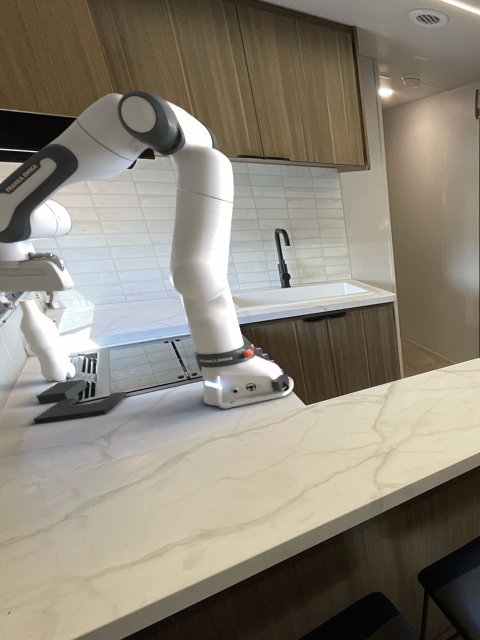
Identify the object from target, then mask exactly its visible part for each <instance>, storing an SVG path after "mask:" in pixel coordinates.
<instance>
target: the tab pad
mask: <svg viewBox="0 0 480 640" xmlns="http://www.w3.org/2000/svg"><path fill="white" fill-rule="evenodd" d="M87 387H88V385H87V382H86V380H85V379H77V380H76V379H75V380H69V381H68V380H67V381H57V383H55V384H53V385H52V386H50V387H49V388H47V389H45V390H43V391H42V392H40V393H39V394H38V395H37V394H36V398H37V400H38V403H39V405H43V404H49V403H58V402H59V401H61V400H63V399H71V398H75V396H76V395H78V394H79V393H80V392H82V391H84V390H85V389H87Z"/></svg>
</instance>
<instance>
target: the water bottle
mask: <svg viewBox="0 0 480 640" xmlns="http://www.w3.org/2000/svg"><path fill="white" fill-rule="evenodd" d="M18 304H19V307H20V308H19V309H20V310H21V311H22V317H21V320H20V324H19V326H20V327H19V328H20V331H21V332H22V334H23V336H24V339H25V340H26V343H27V344H28V348H29V350H30V351H31V352H32V354H34V355H35V356H36V358H37V360H38V361H39V365H40V373H41V375H42V376H43V378H44V379H46V381H48V382H54V381H56V382H64V381H65V380H66V379H67V378H69V379H72V378H74V377H75V375H76V368H75V365H74V364H73V363H72V362H71V361H70V360H69V359H68V356H67V355H66V352H65V342H64V340H62V338H61V335H60V333H59V331H58V329H57V326H56V324H55V322H54V321H53V320H52V319H50V318H49V317H48V316H47V315H45V314H44V313H43V312H41V310H40V309H39V306H38V305H37V304H36V302H35V299H33V298H26V299H20V300H19V299H18Z"/></svg>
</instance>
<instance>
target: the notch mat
mask: <svg viewBox="0 0 480 640" xmlns="http://www.w3.org/2000/svg"><path fill="white" fill-rule="evenodd" d="M125 397H127V392H126V391H119V392H112V393H110V394H108V396H107V397H105V398H104V399H103V400H102V401H99V402H92V403H84V404H77V403H78V402H79V401H78V398H77V397H72V398H71V399H63V400H61V401H59V402H55V404H53V405H51V406H50V407H49V408H48V409H46V410H44V412H41V413H40V414H39V415H38V416H36V417H35V418H34V419H33V422H34V423H35V424H42V423H49V422H56V421H64V420H71V419H78V418H85V417H92V416H100V415H106V414H107V413H109V412H110V411H111V410H112V409H113V408H114V407H115V406H116V405H118V404H119V403H120V402H121V401H122V400H123V399H125ZM76 404H77V405H76Z"/></svg>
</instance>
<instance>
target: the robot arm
mask: <svg viewBox="0 0 480 640" xmlns="http://www.w3.org/2000/svg"><path fill="white" fill-rule="evenodd" d="M148 148H149V149H151V150H153V151H154V152H156V153H158V154H160V155H161V156H163V157H170V158H171V159H172V160H173V162H174V163H175V165H176V168H177V182H176V183H177V184H176V199H175V214H174V226H173V233H172V234H173V235H172V242H171V243H172V244H171V252H170V263H169V264H170V265H169V275H168V276H169V281H170V283H171V286H172V287H173V289H174V290H175V291H176V292H177V293H178V295H179V294H180V298H181V303H182V307H183V311H184V316H185V320H186V325H187V328H188V330H189V331H188V332H189V335H190V338H191V341H192V344H193V347H194V349H195V350H194V357H195V362H196V365H197V368H198V369H199V372H201V377H202V382H203V394H204V395H203V402H204V403H205V404H207V405H209V406H214V407H219V408H221V409H223V410H225V409H226V410H227V409H230V408H234V407H235V408H236V407H240V406H245V405H249V404H255V403H259V402H264V401H268V400H274V399H278V398H279V399H280V398H282V397H285V396H287V395H289V394H290V393H291V392H292V391H293V389H294V380H293V378H292V377H290V376H288V374H283V372H282V370H281V368H280V366H278V364H276V363H275V362H272V361H269V360H267V359H265V358H262V357H260V356H258V355H256V352H255V347H254V344H253V343H252V344H251V345H250V344H247V343H245V342H244V339H243V335H242V332H241V328H240V323H239V320H238V316H237V312H236V308H235V305H234V299H233V296H232V292H231V288H230V285H229V281H228V277H227V276H228V266H229V265H228V264H229V254H230V243H231V242H230V240H231V230H232V219H233V208H234V197H235V195H234V193H235V191H234V190H235V187H234V183H235V182H234V173H233V166H232V163H231V160H229V158H228V157H227V156H226V155H225V154H223V152H221V151H220V150H219V144H218V140H217V138H216V136H215V134H214V133H213V131H212V130H211V129H210V128H209V127H208V126H207V125H206V124H205V123H204V122H203V121H201V120H199V119H197V118H195V117H194V116H192V115H191V114H190V113H188V112H187V111H186V110H184V109H183V108H181V107H180V106H178V105H176V104H175V103H172V102H170V101H167V100H166V99H164V98H163V97H161V96H159V95H157V94H155V93H154V94H153V93H151V92H147V91H142V90H131V91H128V92H126V93H124V94H121V93H115V92H113V93H112V92H111V93H107V94H106V95H104V96H102V97H101V98H99V99H98V100H96V101H95V102H93V103H92V104H91V105H89V106H88V107H87V108H85V109H84V111H83V112H82V113H80V114H79V116H78V117H77V118H76V119H75V120H74V121H73V122H72V123H71V124H70V125H69V126H68V127H67V128H66V129H65V130H64V131H63V132H62V133H61V134H59V136H58V137H56V138H54V140H52V141H51V142H50V143H48V144H47V145H45V146H44V147H42V148H41V149H40V150H38V151H36V152H35V153H34V154H33V155H31V156H30V157H29V158H28V159H26V160H25V161H24V162H23V163H22V164H21V165H20V166H18V167H17V168H16V169H15V170H14V171H13V172H11V174H8V176H7V177H6V178H5V179H4V180H0V307H1V309H2V310H4V311H12V310H16V309H17V306H16V305H15V302H14V301H10V300H9V299H8V298H7V297H6V293H22V292H23V293H25V292H27V293H28V292H29V293H31V292H34V293H35V292H45V294H46V296H47V297H48V296H49V298H48V301H46V302H44V303H45V306H46V308H47V309H48V310H56V309H60V307H61V306H60V304H59V302H58V301H59V300H60V296H61V292H66V291H71V290H73V289H74V287H75V283H74V280H73V278H72V277H71V275H70V273H69V271H68V269H67V267H66V266H65V263H64V260H63V259H62V258H61V257H60V256H58V255H56V254H54V253H52V252H36V250H35V248H34V245H33V243H32V241H36V240H48V239H56V238H61V237H65V236H67V235H69V233H70V232H71V230H72V228H73V220H72V216H71V215H70V212H69V211H68V210H67V209H66V208H65V206H63V204H61V203H59V202H58V201H56V200H55V199H52V197H53V196H54V195H55V194H56V193H57V192H59V191H60V190H61V189H63V188H65V187H67V186H70V185H72V184H76V183H80V182H81V183H82V182H86V181H95V180H104V179H105V180H106V179H111V178H114V177H117V176H118V175H120V174H121V173H123V172H125V171H126V170H127V169H128V168H130V167H131V166H132V165H133V164H134V162H135V161H136V160H137V159H138V158H139V157H140V155H141V154H142V153H143V152H144V151H145V150H147V149H148Z"/></svg>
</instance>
